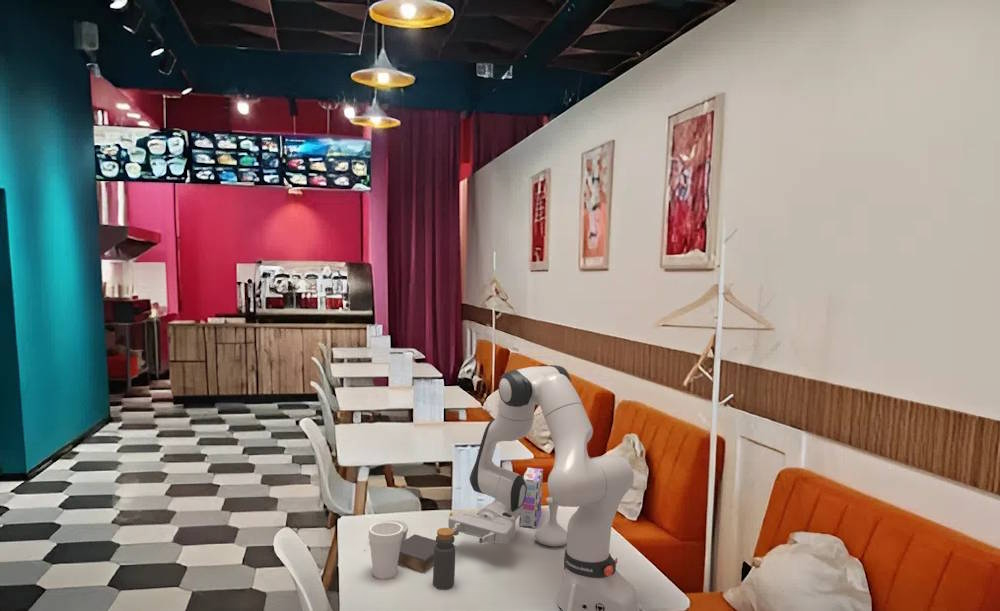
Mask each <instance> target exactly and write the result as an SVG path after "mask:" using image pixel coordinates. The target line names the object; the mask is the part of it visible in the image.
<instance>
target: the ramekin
mask: <svg viewBox="0 0 1000 611" xmlns="http://www.w3.org/2000/svg"><path fill="white" fill-rule="evenodd" d="M380 522H396V523H398V524H401V525H402V527H403V537H402V540H401V542H403V541H404V540H406V539H407V534H408V531H409V525H408V524H407V523H406V522H404V521H400V520H395V519H389V520H387V519H386V520H382V521H378V522H377V523H380Z"/></svg>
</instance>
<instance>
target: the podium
mask: <svg viewBox="0 0 1000 611" xmlns="http://www.w3.org/2000/svg"><path fill="white" fill-rule="evenodd" d="M436 544H437V542H436V539H432V538H429V537H426V536H422V535H418V534H413V535H412V536H409V537H408V538H406V540H404V541H403V542H401V546H400V552H399V559H398V565H397V566H400V567H403V568H405V569H409V570H413V571H415V572H419V573H422V574H425V573H426V572H428V571H429V570H431V569H432V568H433V565H434V547H435V545H436Z"/></svg>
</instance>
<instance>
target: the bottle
mask: <svg viewBox="0 0 1000 611" xmlns="http://www.w3.org/2000/svg"><path fill="white" fill-rule="evenodd" d="M436 534H437V536H436V538H435V540H436V542H437V544H436V545H435V547H434V565H433V567H432V568H433V570H432V586H433V587H434V588H436V589H439V590H448V589H451V588H453V587H454V585H455V576H456V575H455V571H456V569H455V568H456V545H455V544H454V543H455V539H456V538H455V535H453V534H454V530H453V529H451V528H449V527H442V528H441V527H440V528H438V529H437V530H436Z"/></svg>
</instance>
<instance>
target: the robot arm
mask: <svg viewBox="0 0 1000 611" xmlns="http://www.w3.org/2000/svg"><path fill="white" fill-rule="evenodd" d="M497 389H498V393H499V397H500V398H499V402H498V403H499V404H498V409H497V410H498V411H497V415H496V418H494V419H491V420H490V421H489V422H488V424H487V425H486V427H485V430H484V432H483V436H482V438H481V441H480V446H479V449H478V453H477V456H476V459H475V463H474V465H473V467H472V469H471V472H470V476H469V483H470V486H471V488H472V489H473V491H474V492H476V493H479V494H481V495H487V496H489V497H491V498H493V499H494V501H492V502H491V503H488V504H487V505H485V506H484V507H482V508H481V509H479V510H478V511H477V513H472V512H468V511H460V512H457V513H454V514H452V515H450V516H449V517H448V520H447V522H448V524H447V525H448V528H451V529H453V530H454V534H453V536H454V537H455V536H456V537H457V536H458V535H459V533H463V534H464V535H465V534H466V535H469V536H473V537H476V538H478V539H479V540H478V542H479V543H480V544H483V545H484V544H486V543H489V542H490V543H491V542H493V543H498V544H501V545H506V544H508V543H509V542H511V541H512V540H513V538H515V536H516V526H517V525H516V521H517V519H518V518H520V514H521V512H522V510H523V503H524V500H525V497H526V492H527V487H526V483H525V480H524V478H523V476H524V475H521V474H519V473H517V472H514V471H511V470H509V469H507V468H503V467H501V466H499V465H497V464H495V463H494V461H493V456H494V454H495V450H496V446H497V443H499V442H500V443H501V442H514V441H518V440H522V439H523V438H525V437H526V436H528V434H529V433H530V432H531V430H532V428H533V424H534V419H535V418H534V416H535V409H536V408H535V407H536V406H539V407H540V409H541V413H542V415H543V418H544V421H545V422H546V426H547V428H548V432H549V434H550V437H551V439H552V443H553V447H554V462H553V468H552V469H551V470H550V472H549V475H548V478H547V491H548V494H549V497H551V498H552V499H553V501H554V502H555V503H556V504H558V505H559V506H558V507H562V508H563V507H564V508H565V507H566V508H567V507H568V508H571V507H572V508H575V507H576V508H577V509H576V511H575V512H574V513H573V514H572V515H571V517H570V518H569V519H568V523H567V531H566V532H567V543H566V548H565V549H564V557H563V571H564V574H563V581H562V585H561V589H560V592H559V596H558V598H557V606H558V605H559V606H558V608H559V607H560V608H561V609H562V610H563V611H646V609H645V606H644V605H643V604H641V603H639V602H638V600H637V593H636V590H635V588H634V586H633V585H632V584H631V583H629V582H628V581H627V579H626V578H625V577H624V576H622V575H621V574H620V573H619V572H618V570H617V563H618V559H619V558H618V557H616V558H615V559H614V558H613V557H612V555H611V553H610V545H611V536H612V535H611V534H612V526H613V523H614V520H615V517H616V513H617V511H618V508H619V506H620V504H621V502H622V500H623V498H624V497H625V495H626V494H627V493H628V492H629V490H631V488H632V486H633V485H634V482H635V481H634V479H635V475H634V474H635V473H634V471H633V470H634V469H633V467H632V465H631V464H630V462H629V461H628V460H627V459H625V457H623V456H620V455H609V454H607V455H600V456H595V457H590V456H589V454H588V443H589V442H590V440H591V439H592V437H593V433H594V428H593V425H592V423H591V422H590V418H589V417H588V414H587V412H586V409H585V407H584V405H583V402H582V400H581V398H580V396H579V394H578V392H577V391H576V388H575V387H574V385H573V384H572V379H571V376H570V375H569V373H568V370H567V369H566V368H564V366H561V365H557V364H556V365H553V364H550V365H548V366H547V365H546V366H545V365H543V366H539V365H538V366H529V367H522V368H519V369H512V370H508V371H506V372H505V373H503V374H502V375H501V376H500V378H499V381H498V388H497ZM560 608H559V609H560ZM561 609H560V610H561ZM562 610H561V611H562Z"/></svg>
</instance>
